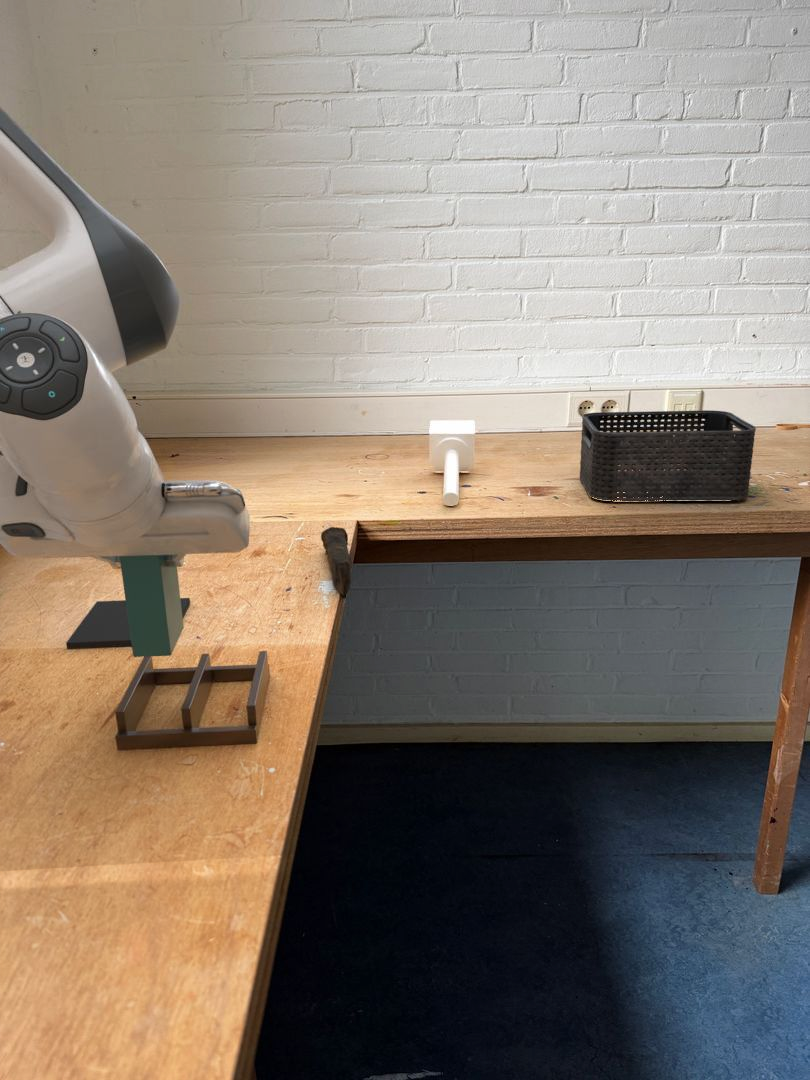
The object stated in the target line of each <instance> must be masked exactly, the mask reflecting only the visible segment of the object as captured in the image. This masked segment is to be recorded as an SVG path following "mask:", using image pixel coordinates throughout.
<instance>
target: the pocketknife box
mask: <svg viewBox="0 0 810 1080" xmlns="http://www.w3.org/2000/svg"><path fill="white" fill-rule="evenodd" d="M120 563H121V569H120V570H121V577H122V584H123V585H122V586H123V593H124V599H125V600H126V607H127V615H128V622H129V629H130V637H131V644H132V646H131V651H132V657H133V658H144V657H148V656H152V657H170V656H172V654H173V652H174V650H175V648H176V645H177V643H178V641H179V639H180V636H181V635H182V632H183V630H184V628H185V627H184V617H182V608H181V599H180V598H181V592H180V583H179V573H178V567H167V566H166V564H165V563H164V555H144V556H120Z"/></svg>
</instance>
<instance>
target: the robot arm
mask: <svg viewBox="0 0 810 1080" xmlns="http://www.w3.org/2000/svg"><path fill="white" fill-rule="evenodd" d="M0 193H1V194H2V195H3V197H5V198H6V199H7V200H8V201H9V202H10V203H11V204H12V205H13V207H15V209H17V210H18V211H19V212H20V213H21V214H22V215H23V216H24V217H25V218H26V219H27V220H28V221H29V222H30V223H31V224H32V225H33V226H34V227H35V228H36V229H37V230H38V231H39V232H40V233H41V234H42V235H43V236H44V237H45V238H46V239H48V241H50V244H48V245H47V246H45V248H43V249H40V250H38V251H36V252H35V253H33V254H30V255H28V256H27V257H25V258H23V259H21V260H19V261H17V262H15V263H13V264H11V265H9V266H7V267H6V268H3V269H1V270H0V456H1V457H0V545H1V547H2V548H4V549H5V551H7V552H8V553H9V554H10V555H12V556H14V557H17V558H21V559H26V560H39V559H70V558H71V559H72V558H75V559H76V558H93V559H95V560H98V561H101V562H104V563H107V564H109V565H110V566H111V567H112V569H113V570H118V569H119V570H121V563H120V556H144V555H164V563H165V564H166V566H167V567H177V568H183V567H184V563H185V560H184V559H185V557H186V556H187V555H203V554H204V555H205V554H207V555H211V554H212V555H213V554H237V553H242V552H243V551H244V550H245V549H247V548H248V547H249V545H250V535H251V534H250V533H251V520H250V519H251V518H250V513H249V510H248V509H247V506H246V501H245V499H244V496H243V495H244V494H243V492H242V491H241V490H240V489H239V488H236V487H235V488H234V487H233V486H231V485H230V484H228V483H226V482H224V481H220V480H216V479H215V480H214V479H193V480H192V479H189V480H185V479H184V480H166V479H165V476H164V474H163V473H162V470H161V468H160V466H159V464H158V462H157V460H156V458H155V455H154V453H153V451H152V449H151V446H150V445H149V443H148V441H147V439H146V438H145V437H144V436H143V434H142V433H141V432H140V430H139V428H138V422H137V419H136V415H135V413H134V411H133V408H132V406H131V405H130V402H129V400H128V399H127V396H126V395H125V393H124V391H123V389H122V387H121V385H120V384H119V382H118V380H117V379H116V378H115V376H114V375H113V373H115V372H116V371H118V370H119V369H121V368H123V367H124V366H126V367H129V366H130V365H131V366H132V365H133V364H136V363H138V362H139V361H142V360H144V359H146V358H148V357H150V356H152V355H155V354H157V353H159V352H161V351H163V350H165V349H167V348H168V347H167V346H168V344H169V343H170V340H171V338H172V336H173V333H174V331H175V327H176V325H177V321H178V316H179V311H180V303H181V302H180V296H179V295H180V294H179V292H178V289H177V287H176V285H175V283H174V281H173V279H172V277H171V275H170V273H169V271H168V270H167V268H166V266H165V264H164V263H163V262H162V261H161V259H160V258H159V257H158V255H157V254H156V253H155V252H154V251H153V250H152V248H150V247H149V246H148V245H147V244H146V242H144V241H143V240H142V239H141V238H140V237H139V236H138V235H137V234H136V233H135V232H134V231H133V230H131V228H129V227H128V226H127V225H126V224H125V223H123V222H122V221H120V220H119V219H118V218H117V217H115V216H114V215H113V214H112V213H110V212H109V211H108V210H107V209H106V208H104V207H103V206H102V205H100V203H98V202H97V200H95V199H94V198H93V196H91V195H90V194H89V193H88V192H87V191H86V190H85V189H84V188H83V187H82V186H81V185H79V183H78V182H76V180H75V179H74V178H73V177H72V176H71V175H69V173H67V171H66V170H65V169H64V168H63V167H61V166H60V165H59V163H57V162H56V161H55V160H54V159H53V157H52V156H50V154H49V153H48V152H47V151H46V150H45V149H44V148H42V146H41V145H40V144H39V143H38V142H37V141H36V140H34V138H32V136H31V135H29V134H28V132H27V131H26V130H24V128H23V127H21V125H20V124H18V122H16V121H15V120H14V118H12V117H11V116H10V114H9V113H8V112H6V111H5V109H3V108H2V107H1V106H0Z"/></svg>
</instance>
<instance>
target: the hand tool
mask: <svg viewBox="0 0 810 1080" xmlns="http://www.w3.org/2000/svg"><path fill="white" fill-rule="evenodd" d="M320 540H321V542H322V546H323V548H324V550H325V554H326V556H327V561H328V565H329V569H330V570H329V571H330V575H331V581H332V585H333V587H334V589H335V590H337V592H338V593H339V594H341V595H342V596H346V595H347V594H348V593H349V591H350V588H351V582H352V575H351V574H352V572H351V571H352V569H351V567H352V565H351V564H352V562H351V561H352V559H351V555H350V553H349V549H348V548H349V547H348V545H349V541H348V540H349V537H348V533H347V531H346V528H343V527H337V526H335V527H334V526H331V527H328V528H326V529H324V530H323V531H322V532H321V534H320Z"/></svg>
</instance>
